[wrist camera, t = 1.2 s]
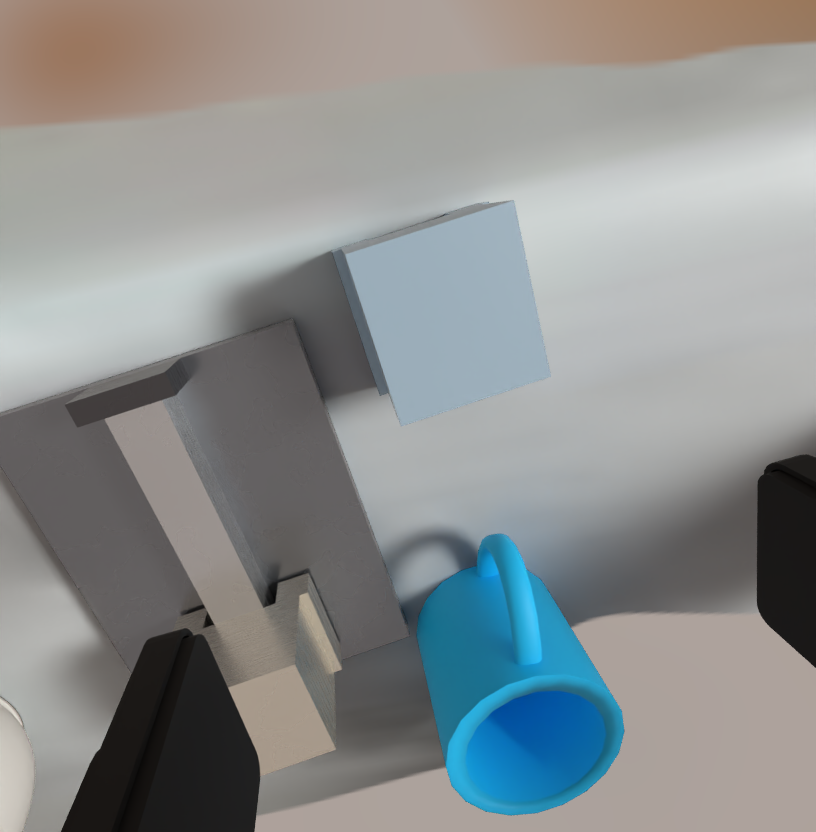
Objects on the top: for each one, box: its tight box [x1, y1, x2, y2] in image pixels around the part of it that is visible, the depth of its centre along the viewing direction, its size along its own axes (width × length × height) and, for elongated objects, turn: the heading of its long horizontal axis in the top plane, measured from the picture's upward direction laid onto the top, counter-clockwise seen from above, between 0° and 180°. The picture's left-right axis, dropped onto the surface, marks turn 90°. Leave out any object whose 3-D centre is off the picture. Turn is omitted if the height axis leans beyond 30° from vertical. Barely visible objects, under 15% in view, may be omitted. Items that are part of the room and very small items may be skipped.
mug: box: [417, 534, 624, 815], centre depth 27 cm, size 12×8×8 cm
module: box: [332, 200, 551, 426], centre depth 23 cm, size 7×6×6 cm
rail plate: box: [0, 318, 410, 776], centre depth 24 cm, size 14×18×7 cm
